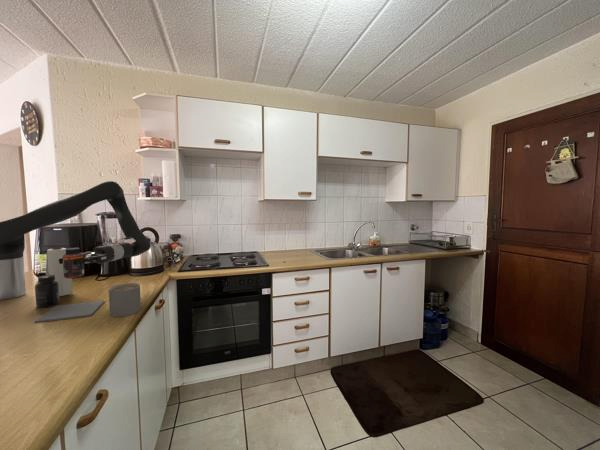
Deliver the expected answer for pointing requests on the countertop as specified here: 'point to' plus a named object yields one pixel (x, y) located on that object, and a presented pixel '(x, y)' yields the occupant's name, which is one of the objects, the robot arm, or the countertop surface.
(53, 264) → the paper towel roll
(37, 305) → the supplement bottle
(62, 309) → the mat
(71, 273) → the supplement bottle
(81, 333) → the countertop surface
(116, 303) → the coffee mug
